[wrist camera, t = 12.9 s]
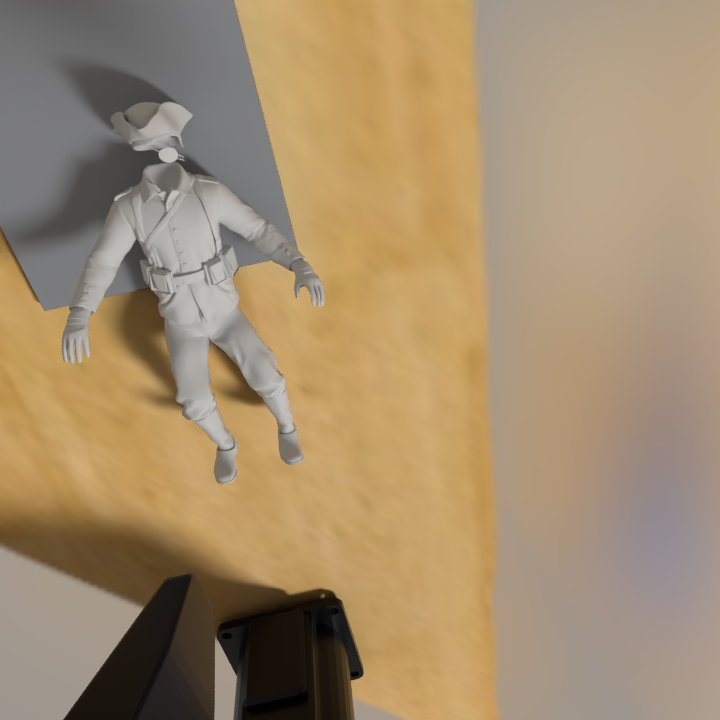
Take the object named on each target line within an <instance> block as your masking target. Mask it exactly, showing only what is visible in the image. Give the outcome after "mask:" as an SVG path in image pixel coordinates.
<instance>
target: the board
mask: <svg viewBox="0 0 720 720" xmlns="http://www.w3.org/2000/svg"><path fill="white" fill-rule="evenodd" d="M142 102H154V103H159V104H162V103H164V102H173V103H177V104H179V105H181V106H183V107H184V108H185V109H186V110H187V111H189V112H190V113H192V114H193V116H192V118H191V119H190V120H189V121H188V122H187V123H186V125H185V126H184V128H183V130H182V132H181V134H180V135H181V139H182V144H183V146H184V147H182V146H181V144H180V145H174V146H170V147H171V148H174V149H175V150H176V151H177V152H178V153H179V154H181V155H182V156H184V158H183V157H181V155H180V158H182V159H184V161H183V160H179V159H180V158H179V156H178V158H179V159H177V160H175V161H174V162H177V163H179V164H180V165H181V166H182V167H183V169H184V170H185V171H186V172H189V173H191V174H194V175H196V174H201V175H204V176H210V177H217V178H219V181H220V182H221V183H222V184H224V185H225V186H227V187H228V188H229V189H230V190H231V191H232V192H233V193H234V194H235V195H237V196H238V198H239V199H240V200H241V201H243V202H244V203H245V204H246V205H248V206H250V207H251V208H252V209H253V210H254V211H255V212H256V213H257V214H259V215H260V216H261V217H262V218H264V219H265V220H266V221H268V222H270V223H271V224H272V225H273V226H274V227H275V228H276V229H277V230H278V232H279V233H280V234H282V235H283V236H284V237H285V238H286V239H287V240H288V241H289V242H290V243H291V245H293V246H294V247H295V248H296V249H297V250H298V248H297V245H296V241H295V237H294V233H293V229H292V225H291V221H290V217H289V213H288V209H287V206H286V202H285V198H284V194H283V190H282V186H281V182H280V178H279V174H278V171H277V167H276V163H275V159H274V155H273V151H272V147H271V143H270V139H269V136H268V132H267V128H266V124H265V120H264V116H263V112H262V108H261V104H260V100H259V97H258V93H257V89H256V85H255V81H254V77H253V73H252V69H251V65H250V62H249V58H248V54H247V50H246V46H245V42H244V38H243V34H242V30H241V26H240V23H239V19H238V15H237V11H236V7H235V3H234V0H0V227H1V229H2V231H3V233H4V235H5V237H6V239H7V241H8V242H9V244H10V246H11V248H12V250H13V252H14V254H15V256H16V258H17V260H18V262H19V263H20V265H21V267H22V269H23V271H24V273H25V275H26V277H27V279H28V281H29V283H30V284H31V286H32V288H33V290H34V292H35V294H36V296H37V298H38V300H39V302H40V304H41V305H42V307H43V309H44V311H47V310H51V309H56V308H60V307H65V306H69V305H70V304H71V302H72V298H73V295H74V292H75V289H76V286H77V282H78V280H79V277H80V275H81V273H82V271H83V269H84V265H85V261H86V259H87V257H88V256H89V255H90V254H91V251H92V250H93V248H94V246H95V244H96V242H97V239H98V235H99V234H100V232H101V231H102V229H103V227H104V225H105V223H106V221H105V220H106V218H107V216H108V214H109V211H110V208H111V206H112V204H113V203H114V198H115V196H116V195H118V194H120V193H122V192H124V191H126V190H127V189H128V188H129V187H131V186H133V187H135V186H136V185H138V184H140V182H141V180H142V174H143V170H144V169H145V168H146V167H147V166H148V165H155V164H160V163H165V162H164V161H162V160H161V159H160V158H159V152H158V151H160V150H162V149H164V148H161V149H155V150H158V151H155V150H144V151H136V150H134V149H133V148H132V145H130V144H129V143H128V141H127V140H126V139H125V138H124V137H123V136H122V135H121V134H119V133H117V132H114V131H113V129H114V125H113V124H112V122H111V116H112V115H113V114H115V113H116V112H122V113H123V114H124V112H125V111H126V110H127V109H129V108H130V107H132V106H133V105H135V104H138V103H142ZM179 154H178V155H179ZM219 230H220V238H221V242H222V248H223V246H224V245H227V244H228V246H231V245H232V246H233V249H234V253H235V256H236V259H237V262H238V265H239V267H243V266H247V265H252V264H256V263H261V262H265V261H269V260H271V259H270V258H268V257H267V256H265V255H263V254H261V253H260V252H259V251H258V250H256V248H255V247H254V246H253V245H252V244H251V243H250V242H248V241H247V239H246V238H244V237H242V236H241V235H240V234H238V233H236V232H234V231H232V230H230V229H228V228H227V227H226V226H225V225H223V224H221V223H219ZM145 257H146V256H145V254H144V252H143V249H142V247H141V245H140V243H139V241H138V239H136V241H135V242H134V244H133V246H132V248H131V249H130V251H129V252H128V253H127V254H126V255H125V256H124V258H123V260H122V261H121V263H120V266H119V268H118V270H117V272H116V276H115V278H114V279H113V282H112V283H111V285H110V286H109V287H108V289H107V290H106V291H105V294H104V297H103V298H105V297H109V296H114V295H118V294H123V293H127V292H132V291H136V290H140V289H145V288H149V287H148V286H147V284H146V283H145V282H144V278H143V274H142V269H141V264H140V260H144V259H145Z"/></svg>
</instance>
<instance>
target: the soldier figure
mask: <svg viewBox="0 0 720 720" xmlns="http://www.w3.org/2000/svg"><path fill="white" fill-rule="evenodd" d="M192 116H193V114H192V113H190V112H189V111H187V110H186V109H185V108H184V107H183V106H181V105H179V104H177V103H173V102H164V103H162V104H159V103H154V102H142V103H138V104H135V105H133V106H132V107H130V108H129V109H127V110H126V111H125V112H124V114H123V113H122V112H116V113H115V114H113V115H112V116H111V122H112V124H113V125H114V129H113V131H114V132H117V133H119V134H121V135H122V136H123V137H124V138H125V139H126V140H127V141H128V143H129V144H130V145H132V148H133V149H134V150H136V151H144V150H155V149H161V148H164V149H162V150H160V151H158V150H155V151H158V152H159V158H160V159H161V160H162V161H164V162H165V163H160V164H155V165H148V166H147V167H146V168H145V169H144V170H143V174H142V180H141V182H140V184H138V185H136V186H135V187H133V186H131V187H129V188H128V189H127V190H126V191H124V192H122V193H120V194H118V195H116V196H115V198H114V203H113V204H112V206H111V208H110V211H109V214H108V216H107V218H106V220H105V221H106V223H105V225H104V227H103V229H102V231H101V232H100V234H99V235H98V239H97V242H96V244H95V246H94V248H93V250H92V251H91V254H90V255H89V256H88V257H87V259H86V261H85V265H84V269H83V271H82V273H81V275H80V277H79V280H78V282H77V286H76V289H75V292H74V295H73V298H72V302H71V304H70V307H69V310H70V311H71V313H70V314H69V316H68V319H67V321H68V322H67V324H66V327H65V330H64V332H63V337H62V354H63V359H64V362H68V354H69V359H70V363H71V364H73V363H74V361H75V360H74V352H73V349H74V346H75V354H76V358H77V362H78V363H80V362H81V361H82V358H81V341H82V343H83V348H84V353H85V356H86V357H90V352H89V344H88V329H89V315H91V314H94V313H95V311H96V310H97V308H98V306H99V303H100V302H101V300H102V299H103V297H104V294H105V291H106V290H107V289H108V287H109V286H110V285H111V283H112V282H113V279H114V278H115V276H116V272H117V270H118V268H119V266H120V263H121V261H122V260H123V258H124V256H125V255H126V254H127V253H128V252H129V251H130V249H131V248H132V246H133V244H134V242H135V241H136V239H138V241H139V243H140V245H141V247H142V249H143V252H144V254H145V256H146V257H145V259H144V260H140V264H141V269H142V274H143V278H144V282H145V283H146V284H147V286H148V287H149V288H150V289H151V290H153V291H154V293H155V294H156V295H157V296H158V298H159V303H158V310H159V313H160V315H161V317H163V318H165V322H164V325H165V336H166V341H167V346H168V353H169V363H170V367H171V370H172V373H173V376H174V378H175V381H176V386H177V395H176V397H175V399H176V401H177V402H178V403H180V404H181V405H183V406H184V407H183V409H182V415H183V416H184V417H185V418H186V419H187V420H191V421H193V422H194V423H196V424H197V425H198V426H199V427H201V428H202V429H203V430H204V431H205V432H206V433H207V435H208V436H209V437H210V439H211V440H212V441H213V442H215V443H216V444H218V447H217V453H216V461H215V466H214V474H215V478H216V481H217V482H218V483H219V484H228V483H231V482H233V481H234V480H235V478H236V476H237V469H236V461H235V456H236V454H237V453H238V448H239V447H238V445H237V441H236V440H235V438H234V437H233V436H232V435H231V433H230V432H229V430H228V429H227V428H226V427H225V425H224V422H223V420H222V418H221V415H220V413H219V411H218V408H217V407H216V401H215V400H214V398H215V395H214V394H212V393H211V391H210V387H209V385H210V381H211V379H210V372H209V368H208V362H207V360H208V350H209V339H210V341H211V342H212V343H214V344H215V345H217V346H218V347H219V348H220V349H222V350H223V351H224V352H225V353H226V354H227V355H228V356H229V357H230V358H231V359H232V360H233V361H234V363H235V364H236V365H237V366H238V367H239V368H240V370H241V372H242V374H243V376H244V378H245V379H246V381H247V383H248V385H249V386H250V387H251V388H252V389H254V390H256V392H257V394H258V395H260V396H261V397H262V398H263V400H264V402H265V404H266V405H267V407H268V409H269V410H270V411H271V413H272V414H273V415H274V416H275V418H276V420H277V424H278V439H279V452H280V456H281V459H282V460H283V461H284V462H285V463H286V464H289V465H294V464H298V463H301V462H302V461H303V454H302V451H301V447H300V445H299V441H298V437H297V430H296V426H295V424H294V423H293V418H292V412H291V409H290V406H289V401H288V396H287V390H286V386H285V377H284V376H283V375H282V374H281V373H280V372H279V371H278V369H277V360H276V357H275V355H274V353H273V352H272V350H271V349H270V348H269V347H268V346H267V345H266V344H265V343H264V342H263V341H262V339H261V338H260V337H259V335H258V334H257V332H256V330H255V329H254V327H253V326H252V325H251V323H250V322H249V320H248V319H247V318H246V316H245V315H244V313H243V312H242V311H241V310H240V308H239V307H238V306H237V305H238V301H239V293H238V291H237V289H236V287H235V285H234V283H233V279H232V277H234V275H235V274H236V272H237V271H238V269H239V265H238V262H237V259H236V256H235V253H234V249H233V246H232V245H231V246H228V244H227V245H224V246H223V248H222V242H221V238H220V230H219V223H221V224H223V225H225V226H226V227H227V228H228V229H230V230H232V231H234V232H236V233H238V234H240V235H241V236H242V237H244V238H246V239H247V241H248V242H250V243H251V244H252V245H253V246H254V247H255V248H256V250H258V251H259V252H260V253H261V254H263V255H265V256H267V257H268V258H270V259H271V260H272V261H273V262H275V263H277V264H280V265H282V266H283V267H285V268H286V269H288V270H290V271H294V272H295V276H296V277H295V286H294V291H295V295H296V298H297V299H298V297H299V289H300V288H301V287H303V286H305V287H307V288H308V290H309V293H310V295H311V301H312V305H315V304H316V299H317V305H318V307H320V306H323V304H324V289H323V285H322V282H321V280H320V278H319V277H318V276H317V275H316V274H315V272H314V271H313V268H312V267H311V266H310V265H309V263H307V262H306V258H305V257H304V256H303V255H302V254H301V253H300V252H299V251H298V250H297V249H296V248H295V247H294V246H293V245H291V243H290V242H289V241H288V240H287V239H286V238H285V237H284V236H283V235H282V234H280V233H279V232H278V230H277V229H276V228H275V227H274V226H273V225H272V224H271V223H270V222H268V221H266V220H265V219H264V218H262V217H261V216H260V215H259V214H257V213H256V212H255V211H254V210H253V209H252V208H251V207H250V206H248V205H246V204H245V203H244V202H243V201H241V200H240V199H239V198H238V196H237V195H235V194H234V193H233V192H232V191H231V190H230V189H229V188H228V187H227V186H225V185H224V184H222V183H221V182H220V181H219V178H217V177H210V176H204V175H201V174H196V175H194V174H191V173H189V172H186V171H185V170H184V169H183V167H182V166H181V165H180V164H179V163H177V162H174V161H175V160H177V159H179V158H180V155H181V154H179V153H178V152H177V151H176V150H175V149H174V148H171V147H170V146H174V145H180V144H181V146H182V147H184V146H183V144H182V139H181V135H180V134H181V132H182V130H183V128H184V126H185V125H186V123H187V122H188V121H189V120H190V119H191V118H192ZM178 154H179V155H178ZM178 156H179V158H178ZM181 157H183V158H184V156H182V155H181ZM179 160H183V161H184V159H182V158H180V159H179ZM315 294H316V297H315ZM74 342H75V343H74ZM67 349H68V353H67Z"/></svg>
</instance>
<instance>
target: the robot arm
mask: <svg viewBox="0 0 720 720" xmlns="http://www.w3.org/2000/svg"><path fill="white" fill-rule="evenodd" d="M217 639H218V641H219V643H220V645H221V647H222V649H223V650H224V652H225V654H226V656H227V658H228V660H229V662H230V664H231V666H232V668H233V670H234V672H235V673H236V675H237V683H236V696H235V708H234V719H233V720H355V719H354V709H353V699H352V689H351V680H355V679H358V678H360V677H362V676H363V665H362V662H361V659H360V655H359V652H358V649H357V646H356V643H355V640H354V637H353V634H352V630H351V627H350V624H349V621H348V618H347V615H346V612H345V609H344V606H343V602H342V601H341V600H340V599H338V598H330V599H325V600H321V601H317V602H312V603H308V604H304V605H299V606H295V607H291V608H286V609H282V610H278V611H273V612H269V613H265V614H260V615H256V616H252V617H247V618H243V619H239V620H234V621H230V622H226V623H223V624H221V625H219V627H218V629H217ZM214 689H215V616H214V610H213V606H212V604H211V602H210V600H209V598H208V596H207V594H206V592H205V590H204V588H203V586H202V584H201V582H200V580H199V578H198V576H197V575H196V574H195V573H193V572H187V573H182V574H178V575H174V576H170V577H168V578H167V579H165V580H164V581H163V583H162V584H161V585H160V587H159V588H158V589H157V591H156V592H155V594H154V595H153V596H152V598H151V599H150V601H149V602H148V603H147V605H146V606H145V607H144V609H143V610H142V612H141V613H140V614H139V616H138V617H137V618H136V620H135V621H134V623H133V624H132V625H131V627H130V628H129V630H128V631H127V632H126V634H125V635H124V637H123V638H122V639H121V641H120V642H119V643H118V645H117V646H116V648H115V649H114V650H113V652H112V653H111V654H110V656H109V657H108V659H107V660H106V661H105V663H104V664H103V666H102V667H101V668H100V670H99V671H98V672H97V674H96V675H95V677H94V678H93V679H92V681H91V682H90V683H89V685H88V686H87V688H86V689H85V690H84V692H83V693H82V695H81V696H80V697H79V699H78V700H77V701H76V703H75V704H74V706H73V707H72V708H71V710H70V711H69V712H68V714H67V715H66V717H65V718H64V719H63V720H214V706H215V703H214V702H215V700H214V699H215V697H214V696H215V695H214V694H215V691H214Z"/></svg>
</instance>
